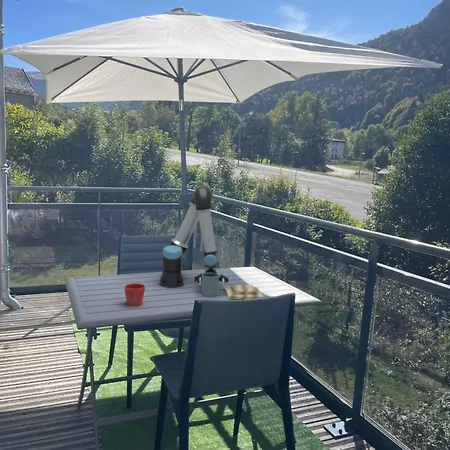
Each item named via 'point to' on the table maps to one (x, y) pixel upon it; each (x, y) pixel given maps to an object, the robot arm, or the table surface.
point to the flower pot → (134, 294)
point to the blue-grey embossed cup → (210, 284)
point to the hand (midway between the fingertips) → (211, 283)
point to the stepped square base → (242, 292)
